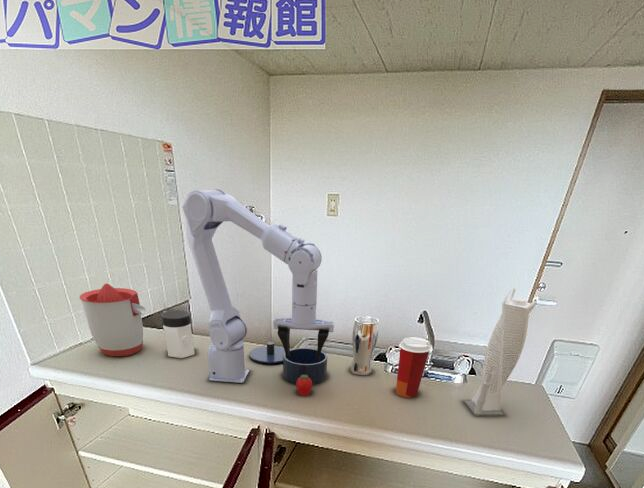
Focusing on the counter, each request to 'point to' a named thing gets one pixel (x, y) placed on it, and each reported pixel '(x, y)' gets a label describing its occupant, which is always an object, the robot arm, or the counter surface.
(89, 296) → the citrus juicer
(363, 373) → the beer glass
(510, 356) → the skyscraper
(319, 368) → the pot
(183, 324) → the jar
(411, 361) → the paper cup
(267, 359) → the lid
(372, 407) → the counter surface
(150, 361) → the counter surface
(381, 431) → the counter surface
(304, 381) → the strawberry
